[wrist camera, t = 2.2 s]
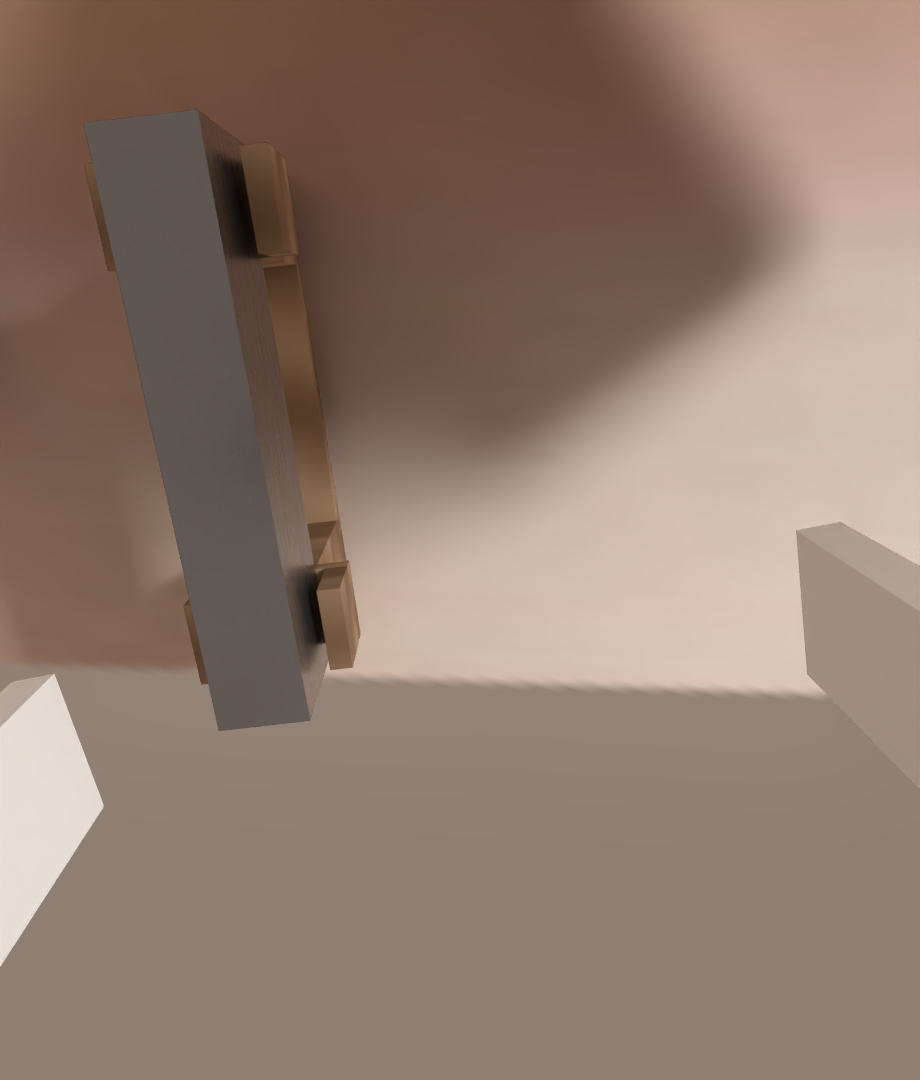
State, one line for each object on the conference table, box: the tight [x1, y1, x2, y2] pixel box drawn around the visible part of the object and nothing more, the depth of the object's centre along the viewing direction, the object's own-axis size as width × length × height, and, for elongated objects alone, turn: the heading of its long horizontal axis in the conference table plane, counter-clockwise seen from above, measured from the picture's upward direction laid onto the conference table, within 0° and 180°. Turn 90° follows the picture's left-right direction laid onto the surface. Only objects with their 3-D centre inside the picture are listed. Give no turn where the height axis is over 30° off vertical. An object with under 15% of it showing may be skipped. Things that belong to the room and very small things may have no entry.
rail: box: [84, 110, 328, 731], centre depth 26 cm, size 18×3×5 cm, turn 6°
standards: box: [84, 142, 360, 684], centre depth 31 cm, size 18×5×10 cm, turn 6°
